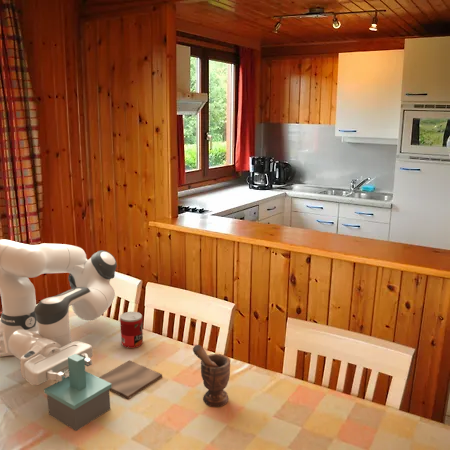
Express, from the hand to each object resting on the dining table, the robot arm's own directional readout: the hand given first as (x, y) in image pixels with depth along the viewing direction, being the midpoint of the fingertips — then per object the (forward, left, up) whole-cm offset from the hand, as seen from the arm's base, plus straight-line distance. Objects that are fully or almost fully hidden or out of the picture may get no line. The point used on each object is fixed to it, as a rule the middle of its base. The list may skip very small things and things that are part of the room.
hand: (76, 370), depth 137 cm
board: (0, +19, -13) cm, 23 cm away
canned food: (-17, +37, -13) cm, 43 cm away
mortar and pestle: (+29, +25, -13) cm, 41 cm away
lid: (+1, -1, -7) cm, 7 cm away
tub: (+1, -1, -13) cm, 13 cm away
